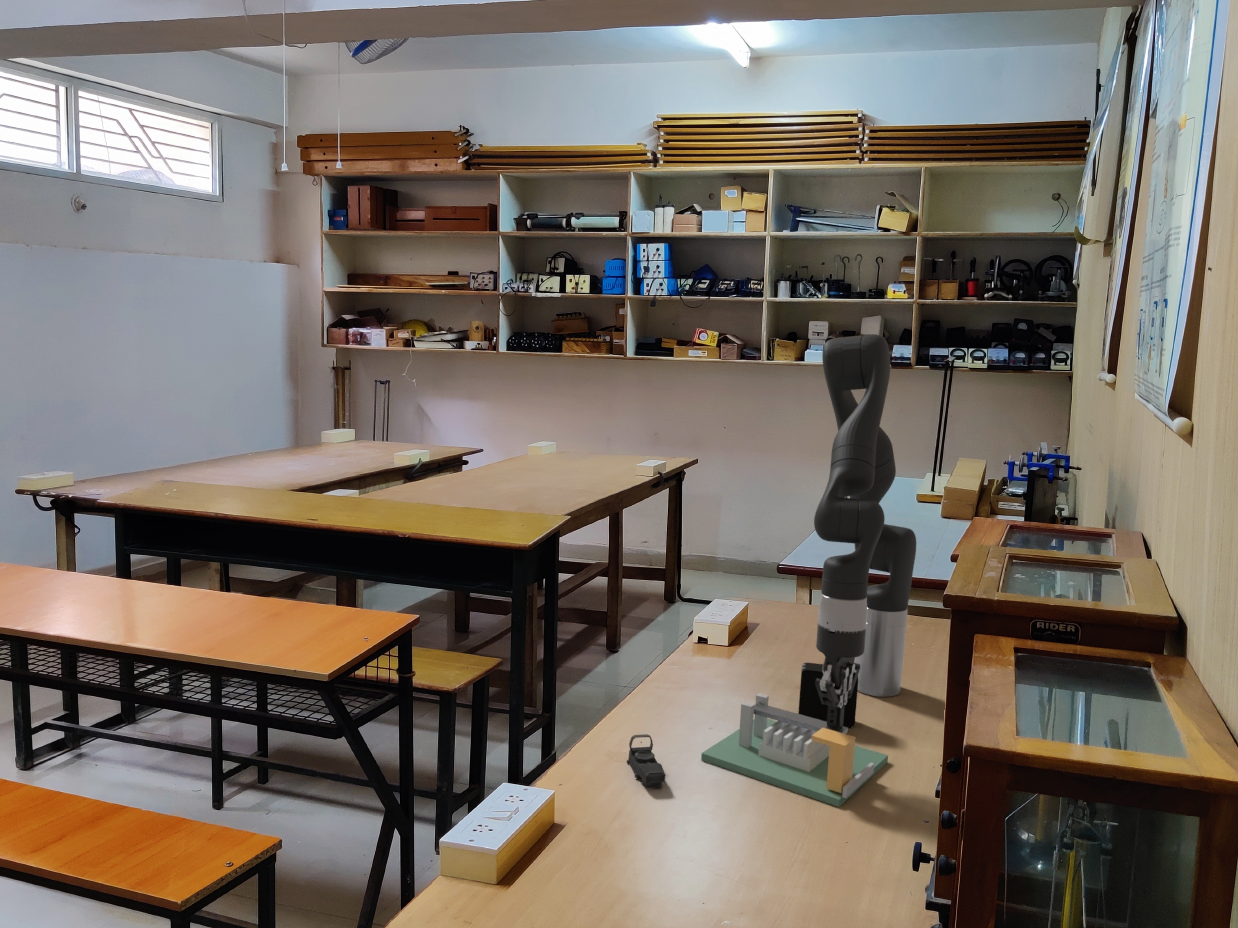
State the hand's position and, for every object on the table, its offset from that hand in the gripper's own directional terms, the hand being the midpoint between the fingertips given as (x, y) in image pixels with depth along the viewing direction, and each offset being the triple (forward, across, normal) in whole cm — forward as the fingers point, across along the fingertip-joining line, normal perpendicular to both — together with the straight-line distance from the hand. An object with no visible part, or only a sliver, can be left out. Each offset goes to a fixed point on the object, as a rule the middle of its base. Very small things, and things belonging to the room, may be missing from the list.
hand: (834, 727), depth 158 cm
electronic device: (+7, -18, -9) cm, 22 cm away
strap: (+1, +1, -6) cm, 6 cm away
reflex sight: (+8, +21, -22) cm, 31 cm away
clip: (+6, +7, +3) cm, 10 cm away
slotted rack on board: (+7, 0, -6) cm, 10 cm away
